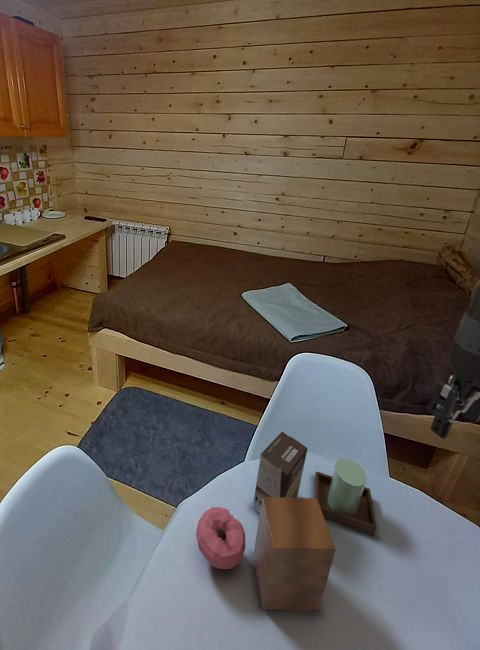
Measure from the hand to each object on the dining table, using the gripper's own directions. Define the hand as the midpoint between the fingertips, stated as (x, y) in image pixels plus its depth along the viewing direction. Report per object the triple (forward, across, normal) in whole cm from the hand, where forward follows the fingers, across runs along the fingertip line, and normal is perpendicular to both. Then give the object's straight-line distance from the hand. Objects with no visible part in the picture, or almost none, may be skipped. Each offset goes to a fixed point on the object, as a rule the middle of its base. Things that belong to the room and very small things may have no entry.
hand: (454, 426), depth 57 cm
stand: (+34, -26, +6) cm, 43 cm away
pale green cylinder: (+34, -4, +12) cm, 36 cm away
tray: (+34, -4, +12) cm, 36 cm away
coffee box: (+34, -18, +18) cm, 43 cm away
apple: (+34, -35, +14) cm, 51 cm away
